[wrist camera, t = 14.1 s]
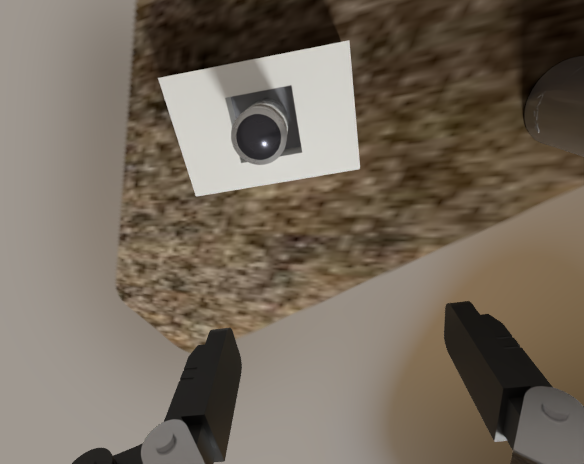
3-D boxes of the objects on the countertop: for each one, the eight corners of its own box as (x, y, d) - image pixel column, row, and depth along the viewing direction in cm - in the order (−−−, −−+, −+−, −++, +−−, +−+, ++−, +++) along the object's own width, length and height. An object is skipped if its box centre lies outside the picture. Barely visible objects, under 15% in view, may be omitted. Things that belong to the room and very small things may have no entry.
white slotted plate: (341, 43, 35) (349, 40, 30) (352, 157, 40) (360, 169, 35) (174, 76, 36) (158, 78, 32) (206, 182, 41) (196, 196, 37)
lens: (284, 95, 35) (281, 103, 26) (291, 138, 37) (290, 160, 28) (242, 102, 35) (224, 113, 26) (251, 145, 37) (237, 169, 28)
